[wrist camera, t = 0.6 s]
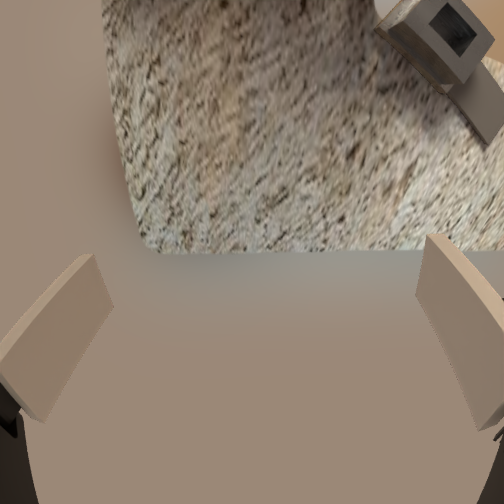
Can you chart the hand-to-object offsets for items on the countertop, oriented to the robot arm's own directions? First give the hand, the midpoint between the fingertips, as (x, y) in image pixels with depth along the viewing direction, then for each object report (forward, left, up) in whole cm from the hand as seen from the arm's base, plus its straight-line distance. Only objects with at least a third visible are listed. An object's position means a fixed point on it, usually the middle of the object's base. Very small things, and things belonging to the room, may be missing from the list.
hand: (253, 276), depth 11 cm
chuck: (-20, +17, -26) cm, 37 cm away
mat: (-15, +26, -26) cm, 39 cm away
